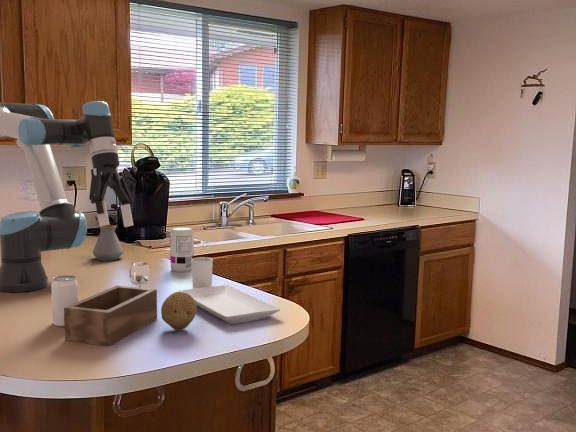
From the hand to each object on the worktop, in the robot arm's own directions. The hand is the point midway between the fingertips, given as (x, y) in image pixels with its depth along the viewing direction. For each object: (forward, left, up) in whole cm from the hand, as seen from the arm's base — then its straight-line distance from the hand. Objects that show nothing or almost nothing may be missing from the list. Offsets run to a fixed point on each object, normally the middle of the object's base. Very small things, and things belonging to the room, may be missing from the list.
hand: (117, 226), depth 181 cm
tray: (+33, +3, -23) cm, 40 cm away
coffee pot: (-40, +56, -22) cm, 72 cm away
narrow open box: (+13, -23, -22) cm, 35 cm away
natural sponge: (+29, -19, -22) cm, 41 cm away
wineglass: (+8, -1, -22) cm, 24 cm away
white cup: (+18, +20, -22) cm, 35 cm away
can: (-1, -23, -22) cm, 32 cm away
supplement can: (-1, +45, -22) cm, 50 cm away
